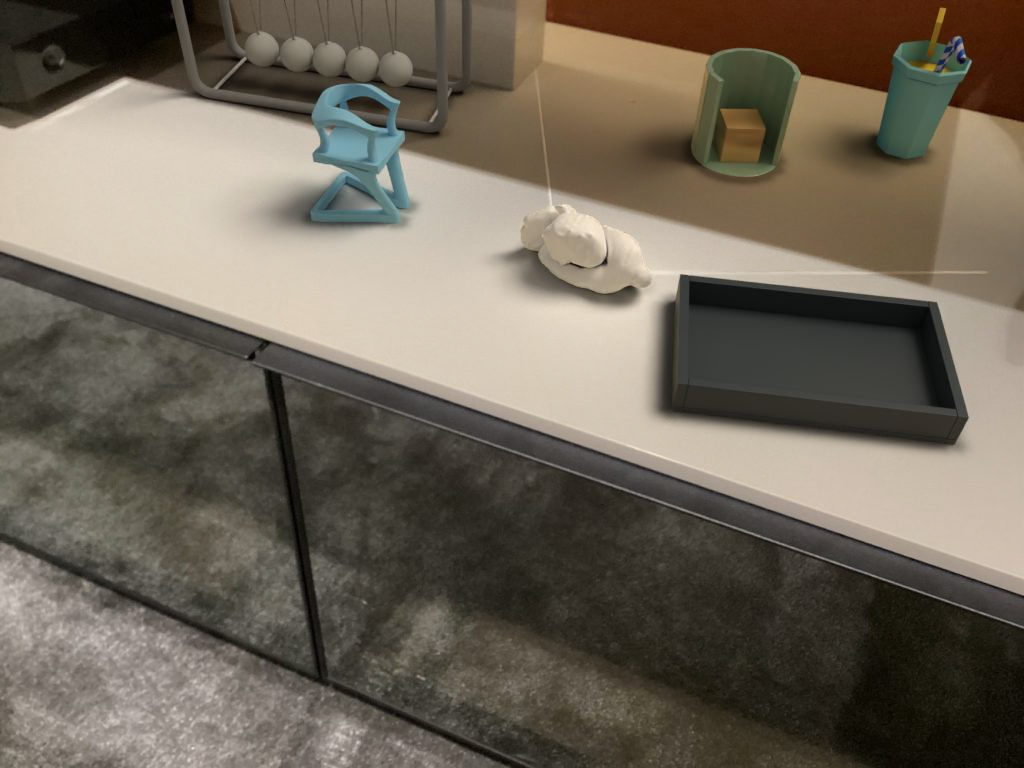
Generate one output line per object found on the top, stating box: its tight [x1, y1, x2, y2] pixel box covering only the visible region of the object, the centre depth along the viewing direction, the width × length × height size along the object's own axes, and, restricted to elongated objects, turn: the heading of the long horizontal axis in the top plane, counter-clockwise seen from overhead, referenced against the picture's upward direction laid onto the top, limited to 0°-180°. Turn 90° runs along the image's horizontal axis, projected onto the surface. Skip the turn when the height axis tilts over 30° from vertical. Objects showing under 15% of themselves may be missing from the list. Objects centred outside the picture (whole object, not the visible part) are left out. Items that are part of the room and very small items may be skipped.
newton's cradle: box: [170, 0, 473, 134], centre depth 103 cm, size 30×10×18 cm, turn 76°
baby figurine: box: [519, 203, 653, 295], centre depth 85 cm, size 9×12×8 cm
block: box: [713, 109, 766, 163], centre depth 100 cm, size 4×4×4 cm
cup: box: [875, 7, 972, 160], centre depth 98 cm, size 14×8×15 cm, turn 173°
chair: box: [309, 83, 411, 224], centre depth 90 cm, size 8×8×12 cm
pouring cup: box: [690, 47, 802, 178], centre depth 99 cm, size 9×9×10 cm
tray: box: [671, 273, 970, 445], centre depth 78 cm, size 22×14×3 cm, turn 82°
